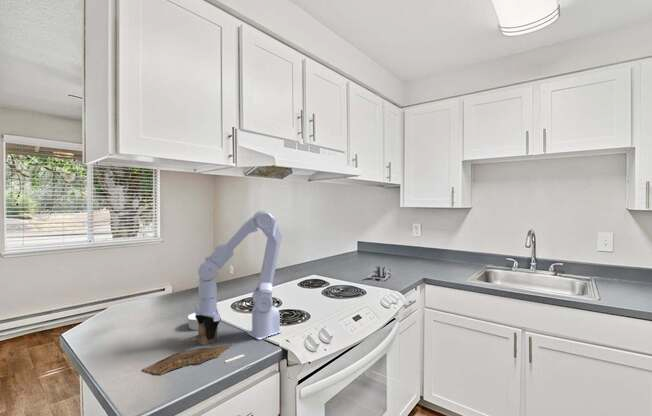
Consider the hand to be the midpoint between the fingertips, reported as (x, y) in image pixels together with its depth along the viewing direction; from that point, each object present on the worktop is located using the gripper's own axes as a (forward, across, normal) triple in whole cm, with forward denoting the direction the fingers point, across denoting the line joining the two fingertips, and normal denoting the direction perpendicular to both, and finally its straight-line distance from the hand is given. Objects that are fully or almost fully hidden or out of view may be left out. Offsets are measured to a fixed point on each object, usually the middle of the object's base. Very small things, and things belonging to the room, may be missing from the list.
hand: (207, 336), depth 107 cm
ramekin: (+2, -15, +4) cm, 16 cm away
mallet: (+1, 0, -4) cm, 4 cm away
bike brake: (+2, -14, +116) cm, 117 cm away
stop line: (+1, +18, 0) cm, 18 cm away
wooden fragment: (+2, +8, -9) cm, 12 cm away
